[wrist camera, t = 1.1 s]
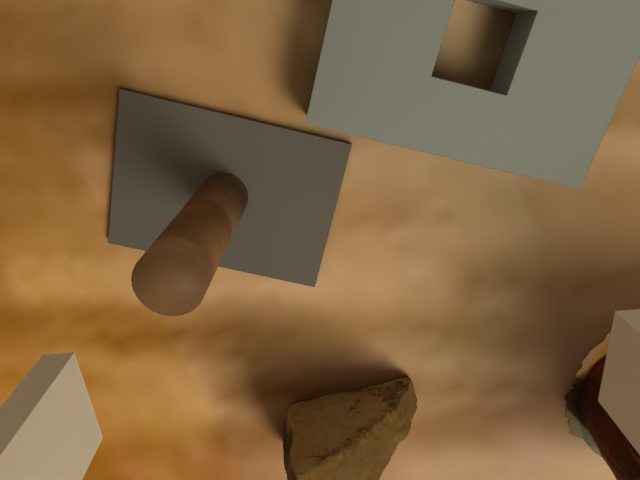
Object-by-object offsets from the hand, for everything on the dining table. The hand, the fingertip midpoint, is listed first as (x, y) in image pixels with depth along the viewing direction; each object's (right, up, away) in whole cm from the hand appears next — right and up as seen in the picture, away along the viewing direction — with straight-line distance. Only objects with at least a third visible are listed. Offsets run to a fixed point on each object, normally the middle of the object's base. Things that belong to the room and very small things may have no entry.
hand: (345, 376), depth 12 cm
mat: (-7, +6, +19) cm, 21 cm away
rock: (+2, -10, +26) cm, 28 cm away
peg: (-7, +6, +19) cm, 21 cm away
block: (+8, +14, +16) cm, 23 cm away
